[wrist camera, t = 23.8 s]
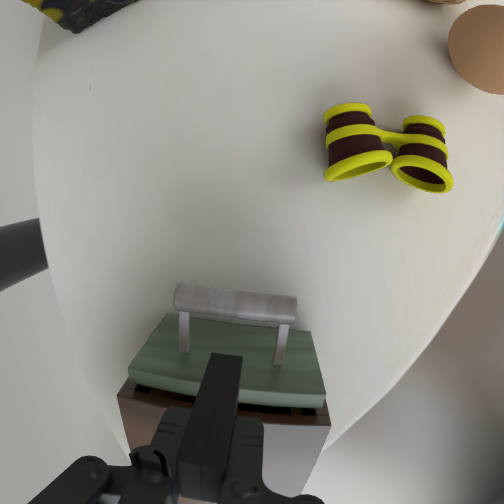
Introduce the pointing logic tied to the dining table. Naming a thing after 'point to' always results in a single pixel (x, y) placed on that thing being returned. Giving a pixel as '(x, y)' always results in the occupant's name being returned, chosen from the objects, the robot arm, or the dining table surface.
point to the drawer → (233, 351)
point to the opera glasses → (376, 157)
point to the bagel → (448, 1)
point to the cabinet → (275, 425)
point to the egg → (479, 47)
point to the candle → (78, 11)
